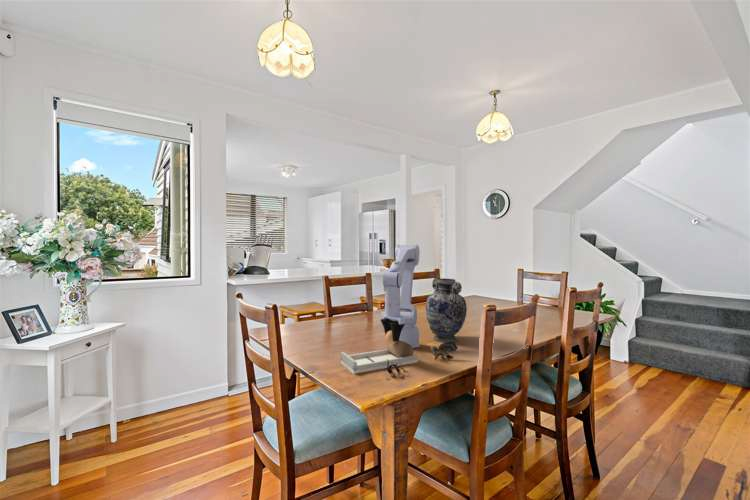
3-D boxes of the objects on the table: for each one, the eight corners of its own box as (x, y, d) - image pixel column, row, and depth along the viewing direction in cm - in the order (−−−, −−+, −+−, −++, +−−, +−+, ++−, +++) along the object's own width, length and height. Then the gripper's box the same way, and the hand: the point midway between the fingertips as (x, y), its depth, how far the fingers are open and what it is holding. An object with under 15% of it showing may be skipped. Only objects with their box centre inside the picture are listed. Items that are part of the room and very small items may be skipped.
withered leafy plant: (445, 361, 131) (461, 352, 136) (435, 343, 133) (452, 335, 138) (434, 367, 136) (450, 358, 141) (425, 349, 139) (441, 341, 144)
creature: (405, 374, 124) (383, 369, 123) (409, 359, 124) (387, 354, 123) (409, 383, 116) (386, 378, 116) (413, 367, 116) (389, 362, 116)
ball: (394, 341, 138) (394, 328, 138) (401, 344, 134) (401, 331, 133) (383, 342, 136) (383, 329, 136) (389, 346, 131) (389, 332, 131)
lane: (400, 353, 144) (401, 343, 143) (417, 362, 133) (417, 351, 133) (341, 363, 132) (341, 352, 132) (353, 373, 121) (353, 362, 121)
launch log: (400, 351, 142) (400, 337, 142) (413, 359, 133) (413, 343, 133) (387, 354, 139) (387, 338, 139) (399, 361, 131) (399, 345, 131)
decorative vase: (415, 335, 170) (417, 277, 169) (447, 332, 178) (449, 276, 177) (442, 348, 150) (443, 282, 150) (476, 343, 158) (478, 281, 157)
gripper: (374, 301, 139) (374, 335, 139) (392, 307, 126) (392, 345, 126) (390, 300, 142) (389, 333, 142) (409, 306, 129) (409, 343, 130)
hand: (392, 339), depth 135 cm, fingers closed on ball, 5 cm apart
